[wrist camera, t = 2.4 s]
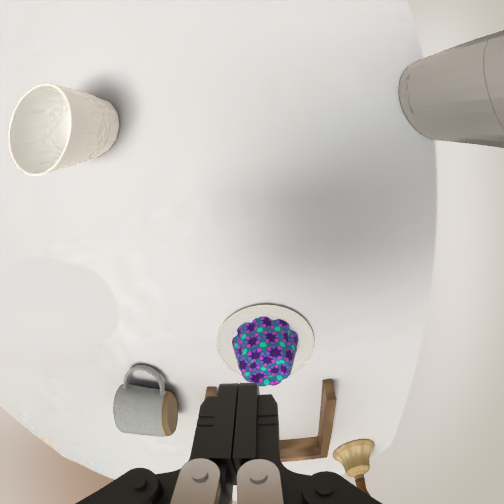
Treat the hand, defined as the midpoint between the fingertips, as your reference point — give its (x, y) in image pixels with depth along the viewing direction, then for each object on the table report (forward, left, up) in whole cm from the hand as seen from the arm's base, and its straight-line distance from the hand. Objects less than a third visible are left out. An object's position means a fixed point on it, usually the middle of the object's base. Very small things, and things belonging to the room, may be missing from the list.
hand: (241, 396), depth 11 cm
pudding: (0, +14, -22) cm, 26 cm away
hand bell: (-15, +44, -22) cm, 51 cm away
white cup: (+16, -14, -22) cm, 30 cm away
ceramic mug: (+18, +22, -22) cm, 36 cm away
